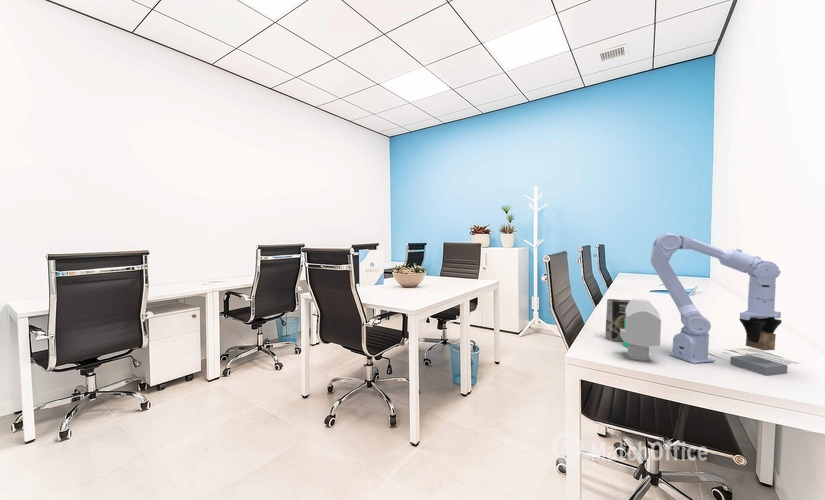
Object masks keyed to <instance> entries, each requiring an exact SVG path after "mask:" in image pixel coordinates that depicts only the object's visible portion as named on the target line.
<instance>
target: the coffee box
mask: <svg viewBox="0 0 825 500" xmlns="http://www.w3.org/2000/svg"><path fill="white" fill-rule="evenodd" d="M631 300H632V299H618V298H617V299H615V298H613V299H612V298H607V299H606V314H605V316H606V317H605V318H606V319H605V334H604V336H605V338H607V339H608V340H609V341H610V342H617V343H618V342H619V343H624V341H623V340H622V338H621V336H620V329H624V324H625V318H626V315H625V309H626V307H627V305H628V303H629V302H630V301H631Z"/></svg>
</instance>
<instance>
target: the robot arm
mask: <svg viewBox="0 0 825 500" xmlns="http://www.w3.org/2000/svg"><path fill="white" fill-rule="evenodd" d="M677 250H693V251H695V252H698V253H701V254H703V255H707V256H709V257H713V258H715V259H717V260H718V261H719V263H720V264H721V265H722V266H724V267H728V268H729V269H730V268H731V269H733V270H736V271H738V272H741V273H744V274H747V275H748V276H749V279H748V280H749V281H748V294H747V296H748V297H747V310H745V311H742V312H739V322H740V323H741V325H742V327H743V328H744V330H745V333H746V334H747V337H748V340H749V341H752V342H756V343H758V341H759V339H760V333H761V331H764V332H769V333H773V334H775V331H776V329H777V328H778V327H779V326H780V325H781V324H782V320H781V318H782V312H781V311H775V306H776V305H775V304H776V289H777V287H776V281H777V280H776V279H777V278H778V277H780V274H781V273H782V270H780V268H779V266H778V265H777V264H776V263H774V262H773V261H767V260H764V259H762V257H761V256H754V255H750V254H748V253H746V252H745V253H744V252H743V250H742V249H739V248H736V249H733V248H730V249H721V248H718V247H716V246H714V245H710V244H709V243H706V242H703V241H701V240H698V239H696V238H693V237H689V236H686V235H682V234H681V235H679V234H678V233H677V234H676V233H674V232H667V233H662V234H659V236H657V237H656V238H655V240H654V242H653V243H652V249H651V256H650V263H651V266H652V267H653V269H654V271H655V272H656V274H657V275H658V277H659V279H660V281H661V282H662V284H663V285H664V288H665V289H666V291H667V293H668V294H669V296H670V297H671V299H672V301H673V302H674V304H675V307H676V308H677V310H678V312H679V314H680V321H681V323H682V325H683V326H682V327H681V328H680V332H679V333H676V334H675V335H674V336H673V339H672V353H669V355H670V356H672V357H675V358H677V359H681V360H683V361H687V362H689V363H692V364H701V363H711V362H715V361H716V359H713V358H710V357H709V346H710V345H709V339H710V332H709V331H710V330H711V327H712V325H711V322H710V321H709V319H708V318H707V317H705V316H703V315H702V314H701V312H700V311H699V310H698V308H697V306H696V305H695V304H694V303H693V300H692V299H691V297H690V296H689V294H688V293H687V291H686V289H685V287H684V285H683V284H682V282H681V281H680V279H679V278H678V275H677V274H676V273H675V271H674V269H673V268H672V266H671V264H670V260H671V258H672V256H673V254H674V253H675V252H677Z"/></svg>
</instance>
